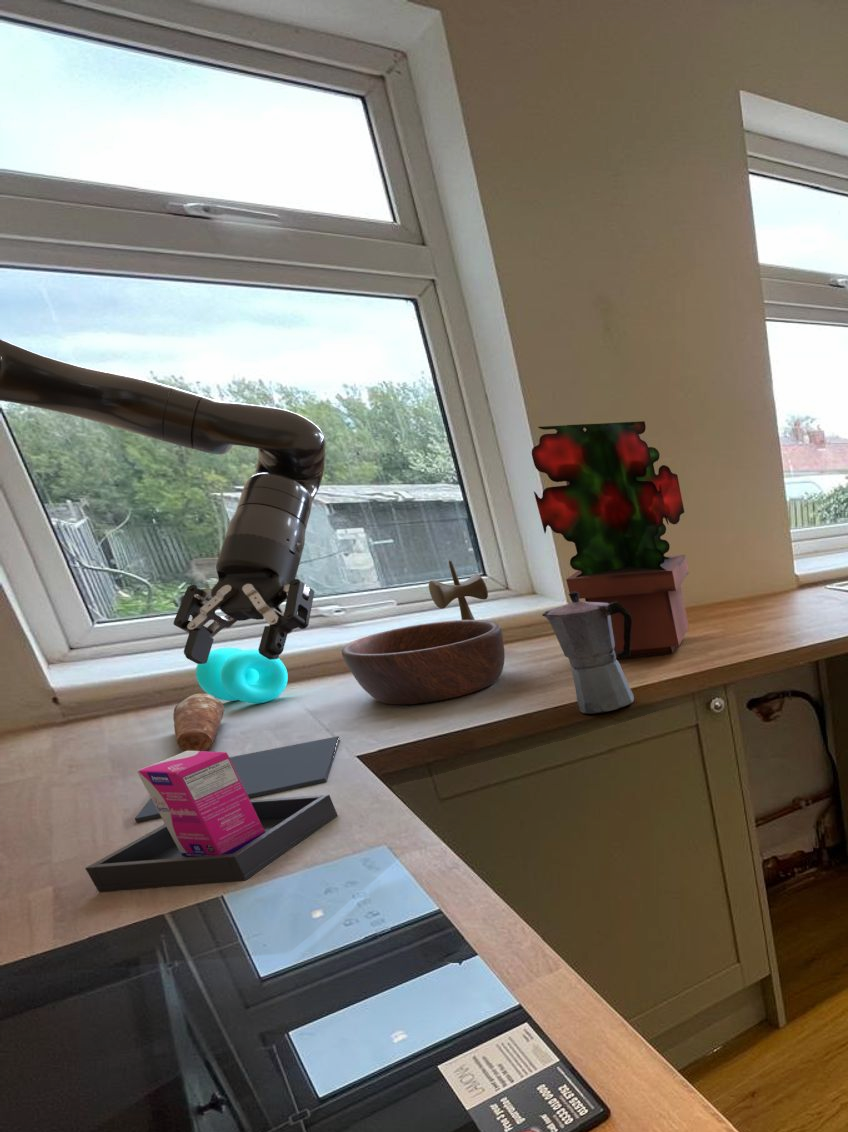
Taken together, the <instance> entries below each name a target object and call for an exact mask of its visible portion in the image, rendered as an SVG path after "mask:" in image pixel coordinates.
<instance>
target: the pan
mask: <svg viewBox="0 0 848 1132" xmlns="http://www.w3.org/2000/svg"><path fill="white" fill-rule="evenodd" d="M250 801H251V803H252V806H253V808H254V810H255V812H256V814H257V816H258V818H259V820H260V822H261V824H262V826H263V828H264V830H265V832H266V833H264V834H262V835H261V836H259V837H258V838H256V839H255V840H253V841H252V842H250V843H249V844H247V845H246V846H244V847H242V848H241V849H239V850H237V851H235V852H233V853H232V854H224V855H211V856H182V855H181V853H180V851H179V849H178V847H177V845H176V844H175V842H174V840H173V838H172V836H171V834H170V832H169V830H168V829H167V827H166V825H165V823H164V824H162V825H161V826H159V827H157V828H155V829H153V830H151V831H150V832H148V833H145V834H144V835H142V836H140V837H138V838H137V839H135V840H134V841H131V842H130V843H127V844H126V845H124V846H123V847H121V848H119V849H116V850H115V851H113V852H111V853H110V854H108V855H106V856H104V857H103V858H101V859H99V860H97V861H95V862H94V863H92V864H90V865H88V866H86V867H85V868H84V869H85V871H86V872H87V874H88V876H89V877H90V879H91V881H92V883H93V885H94V886H95V888H96V890H97V892H98V893H101V892H113V891H125V890H137V889H138V890H139V889H152V888H153V889H154V888H163V887H166V888H167V887H177V886H190V885H191V886H192V885H202V884H203V885H204V884H216V883H228V882H240V881H241V882H242V881H247V880H248V879H250V878H251V877H252V876H254V875H256V873H258V872H259V871H261V870H263V869H264V868H265V867H267V866H268V865H270V864H271V863H273V862H274V861H275V860H277V859H278V858H280V857H282V856H283V855H284V854H286V853H287V852H289V851H290V850H291V849H293V848H294V847H295V846H297V845H299V843H301V842H302V841H304V840H305V839H307V838H308V837H309V836H311V835H313V834H314V833H315V832H317V831H318V830H320V829H321V828H322V827H324V826H326V825H328V823H330V822H331V821H333V820H335V818H337V817H338V815H339V814H338V812H337V810H336V808H335V805H334V803H333V800H332V798H331V795H330V794H319V795H306V796H305V795H304V796H292V797H291V796H290V797H277V798H263V799H250Z"/></svg>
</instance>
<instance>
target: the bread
mask: <svg viewBox="0 0 848 1132" xmlns="http://www.w3.org/2000/svg"><path fill="white" fill-rule="evenodd" d="M224 714H225V706H224V704H223V703H222V702H221V700H220V699H217V698H215V697H214V696H212V695H210V694H208V693H195V694H191V695H190V696H188V697H186V698H184V699H183V700H182V701H181V702H179V703H178V704H176V705H175V707H174V709H173V719H172V720H173V727H174V729H173V730H174V735H175V739H176V744H177V746H178V747H179V748H180V749H181V750H183V751H184V752H185V751H208V750H209V749H210V748H211V747H212V745H213V744H214V741H215V738H216V736H217V733H218V729H219V727H220V724H221V722H222V720H223V717H224Z"/></svg>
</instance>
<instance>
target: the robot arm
mask: <svg viewBox="0 0 848 1132" xmlns="http://www.w3.org/2000/svg"><path fill="white" fill-rule="evenodd" d="M1 401H2V402H6V403H12V404H17V405H18V404H19V405H23V406H29V407H34V408H38V409H43V410H48V411H53V412H57V413H62V414H65V415H70V416H74V417H78V418H81V419H86V420H89V421H92V422H96V423H100V424H103V425H107V426H110V427H114V428H116V429H121V430H123V431H125V432H126V431H127V432H130V433H133V434H137V435H140V436H144V437H147V438H151V439H155V440H159V441H161V442H165V443H168V444H172V445H176V446H178V447H179V446H180V447H183V448H188V449H190V450H195V451H197V452H202V453H206V454H211V455H218V456H219V455H220V456H221V455H225V454H227V453H228V452H230V450H231V449H232V448H233V446H239V447H240V446H241V447H248V448H254V449H257V453H258V454H257V461H256V467H255V471H254V474H253V475H252V476H250V477H249V478H248V479H247V480H246V481H245V483H244V486H243V487H242V490H241V494H240V497H239V500H238V503H237V507H236V510H235V512H234V514H233V516H232V518H231V519H230V521H229V523H228V526H227V528H226V532H225V536H224V539H223V542H222V545H221V548H220V549H221V550H220V552H219V556H218V558H217V561H216V565H215V570H216V574H217V577H218V581H217V583H216V584H214V586H212V588H201V587H199V586H198V585H196V584H191V585H188V586H187V588H186V590H185V592H184V594H183V597H182V600H181V602H180V605H179V607H178V609H177V612H176V615H175V618H174V620H173V625H174V626H175V627H177V628H179V629H180V630H183V631H184V632H185V633H188V636H187V639H186V643H185V646H184V648H183V656H184V657H185V658H186V659H187V660H189V661H190V662H193V663H195V664H205V663H207V660H208V657H209V654H210V651H212V647H213V644H214V637H215V636H216V635H217V634H218V633H220V632H221V631H222V630H224V629H228V628H231V627H232V626H233V625H234V624H236V623H237V622H242V621H248V620H256V621H257V620H260V621H261V620H265V621H266V623H267V624H268V625H265V626H264V627H263V631H262V634H261V639H260V642H259V646H258V651H259V653H260V654H261V655H263V656H264V657H266V658H268V659H270V660H271V659H278V658H279V656H280V655H282V653H283V652H284V649H285V645H286V641H287V637H288V635H290V634H291V633H292V632H293V630H295V629H301V630H305V629H306V628H308V626H309V623H310V618H311V613H312V607H313V602H314V596H315V590H314V589H313V588H311V587H310V586H309V585H308V584H307V583H305V582H304V581H303V582H302V581H301V579H299V578H296V577H297V574H298V571H299V566H300V563H301V559H302V556H303V552H304V548H305V543H306V542H305V541H306V531H307V526H308V523H309V520H310V516H311V511H312V505H313V502H314V499H315V497H316V495H317V493H318V491H319V489H320V486H321V483H322V480H323V477H324V472H325V468H326V467H325V465H326V437H325V435H324V433H323V432H322V430H321V428H320V427H318V425H316V424H315V423H314V422H312V421H311V420H310V419H308V418H307V417H304V416H302V415H301V414H298V413H295V412H293V411H291V410H287V409H284V408H283V409H282V408H278V407H274V406H273V407H272V406H265V405H258V404H257V405H256V404H250V403H249V404H248V403H243V402H242V403H241V402H233V401H231V402H229V401H220V400H216V399H212V398H209V397H207V396H203V395H200V394H196V393H193V392H190V391H187V390H184V389H180V388H177V387H174V386H172V385H171V386H170V385H167V384H163V383H159V382H156V381H152V380H149V379H145V378H140V377H136V376H131V375H127V374H125V375H124V374H121V373H115V372H110V371H104V370H100V369H95V368H94V369H93V368H89V367H85V366H81V365H77V364H73V363H69V362H65V361H62V360H58V359H55V358H52V357H49V356H45V355H42V354H39V353H37V352H34V351H31V350H28V349H26V348H24V347H21V346H19V345H16V344H13V343H11V342H9V341H6V340H4V339H1V338H0V402H1ZM284 602H285V607H284V611H283V609H282V608H281V605H282V604H283V603H284ZM218 609H219V610H220V611H221V612H222V613H223V614H224V616H220V615H219V614H217V613H216V611H217V610H218ZM190 617H191V620H190ZM210 621H213V622H212V623H211V624H209V625H208V626H205V625H206V624H207V623H208V622H210Z"/></svg>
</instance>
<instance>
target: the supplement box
mask: <svg viewBox="0 0 848 1132" xmlns="http://www.w3.org/2000/svg"><path fill="white" fill-rule="evenodd" d="M229 757H230V756H229V754H228V752H226V751H208V750H205V751H185V750H184V751H182V752H180V753H178V754H175V755H173V756H171V757H169V758H165V759H163V760H161V761H158V762H155V763H153V764H150V765H147V766H145V767H143V768H140V769H137V772H136V773H137V775H138V776H139V778H140V780H141V781H142V784H143V785H144V787H145V789H146V792H147V793H148V795H149V797H150V798H151V799H152V800H153V802H154V804H155V806H156V808H157V810H158V812H159V814H160V815H161V817H160V818H161V819H162V821H163V823H164V824H165V825H166V827H167V829H168V830H169V832H170V834H171V836H172V838H173V840H174V842H175V844H176V845H177V847H178V849H179V851H180V853H181V855H182V856H211V855H224V854H232V853H233V852H235V851H237V850H239V849H241V848H242V847H244V846H246V845H247V844H249V843H250V842H252V841H253V840H255V839H256V838H258V837H259V836H261V835H262V834H264V833H266V832H265V830H264V828H263V826H262V824H261V822H260V820H259V818H258V816H257V814H256V812H255V810H254V808H253V806H252V803H251V801H250V800H251V798H249V797H248V795H247V793H246V791H245V789H244V787H243V785H242V783H241V781H240V779H239V777H238V775H237V772H236V770H235V768H234V766H233V764H232V762H231V760H230V758H229Z"/></svg>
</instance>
